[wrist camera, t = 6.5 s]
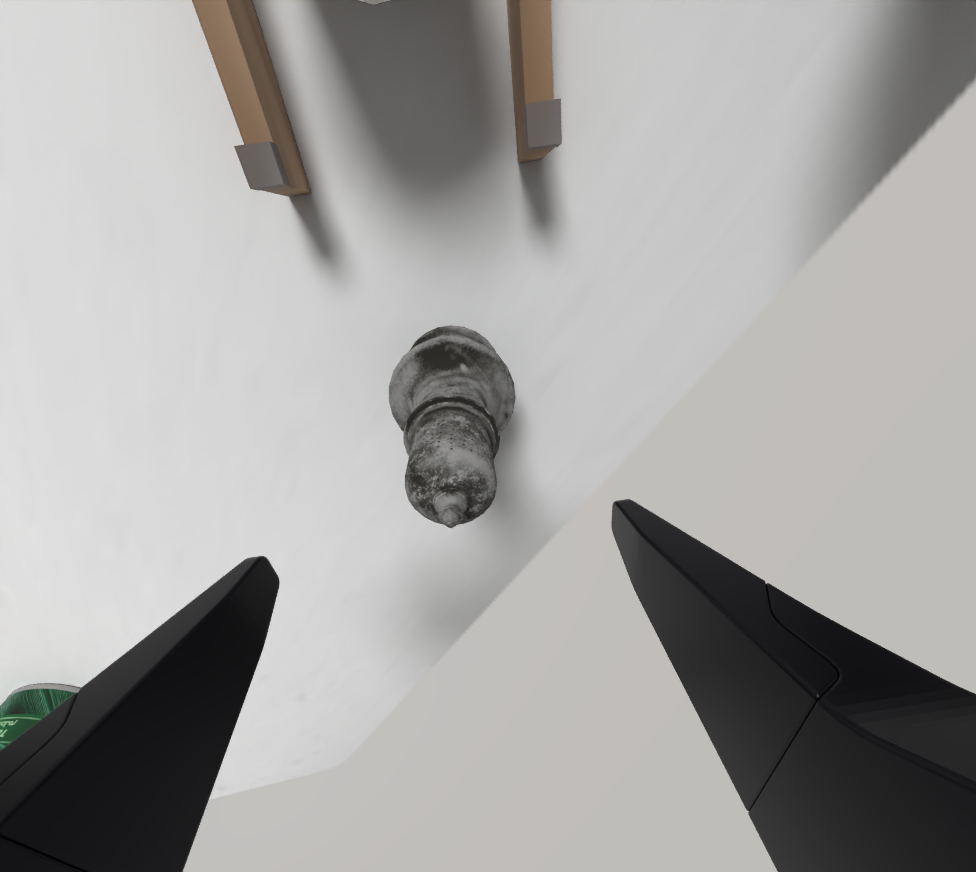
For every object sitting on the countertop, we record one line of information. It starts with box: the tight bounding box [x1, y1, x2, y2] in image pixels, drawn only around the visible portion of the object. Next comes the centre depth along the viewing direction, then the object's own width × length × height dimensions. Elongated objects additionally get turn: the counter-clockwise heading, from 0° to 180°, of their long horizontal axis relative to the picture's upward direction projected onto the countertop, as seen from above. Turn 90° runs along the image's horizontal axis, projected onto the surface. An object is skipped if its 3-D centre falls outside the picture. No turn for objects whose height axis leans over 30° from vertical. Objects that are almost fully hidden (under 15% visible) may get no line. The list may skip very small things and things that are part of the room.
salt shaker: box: [389, 326, 515, 528], centre depth 15 cm, size 6×6×12 cm
